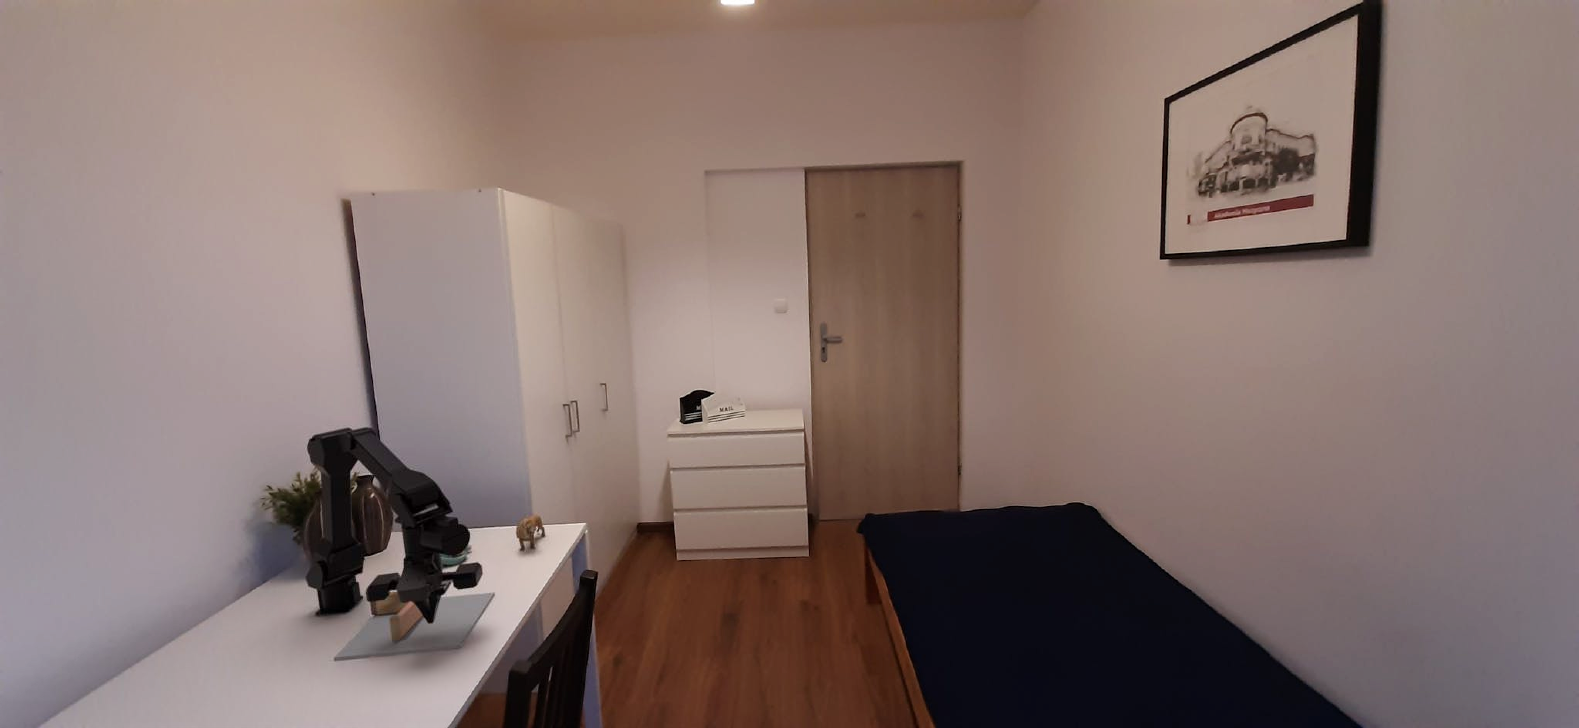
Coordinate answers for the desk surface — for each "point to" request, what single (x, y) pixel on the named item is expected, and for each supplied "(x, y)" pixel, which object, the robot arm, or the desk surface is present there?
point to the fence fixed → (387, 605)
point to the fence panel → (404, 621)
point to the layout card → (420, 630)
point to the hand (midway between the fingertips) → (431, 622)
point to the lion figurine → (529, 530)
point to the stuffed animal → (453, 561)
